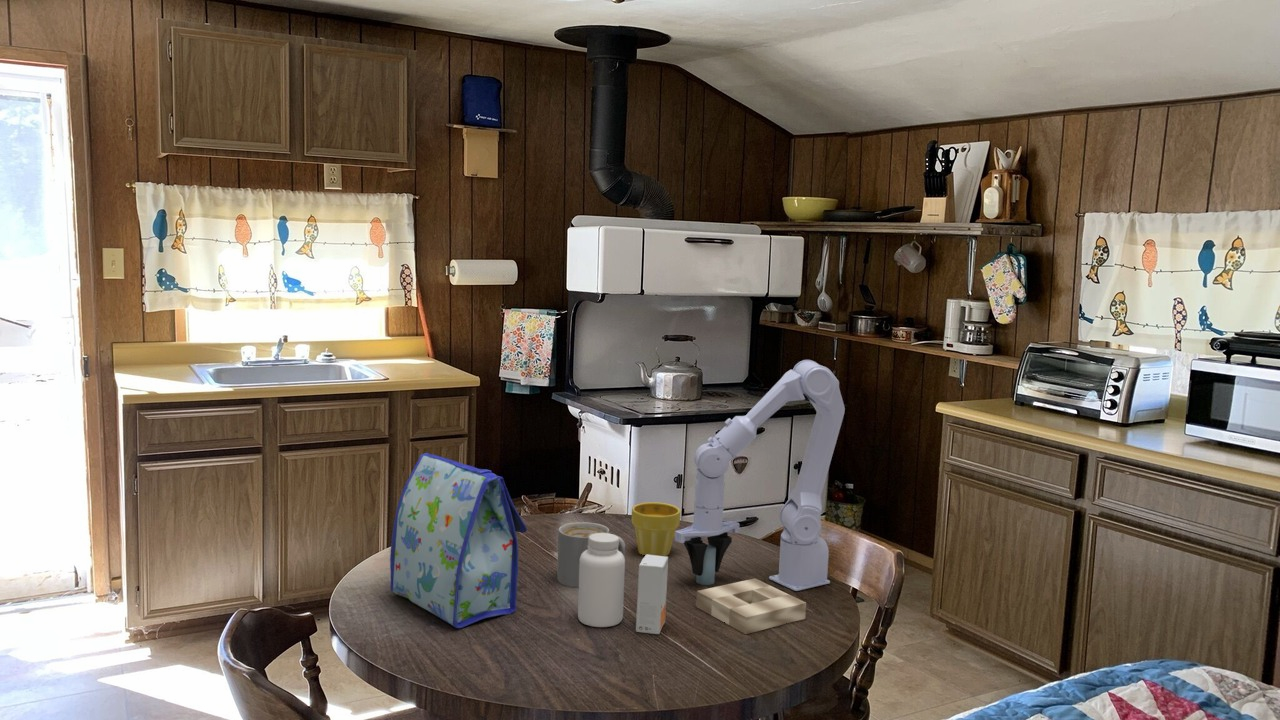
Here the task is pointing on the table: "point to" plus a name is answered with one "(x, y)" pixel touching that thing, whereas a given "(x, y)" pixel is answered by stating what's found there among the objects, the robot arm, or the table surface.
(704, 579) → the peg
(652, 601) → the skincare box
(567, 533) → the coffee mug
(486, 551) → the lunch bag
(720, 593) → the socket block
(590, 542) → the pill bottle
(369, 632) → the table surface
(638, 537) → the plant pot
